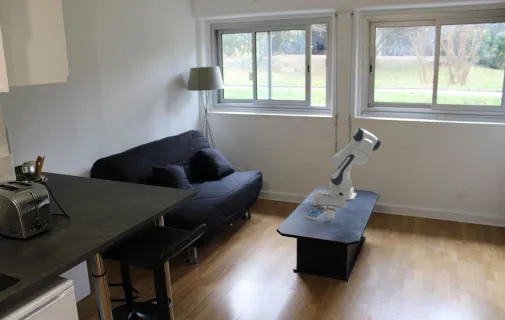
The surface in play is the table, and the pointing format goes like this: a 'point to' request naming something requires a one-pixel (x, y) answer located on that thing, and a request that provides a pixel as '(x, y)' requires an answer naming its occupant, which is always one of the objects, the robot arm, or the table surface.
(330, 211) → the plug
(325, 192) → the cable organizer
